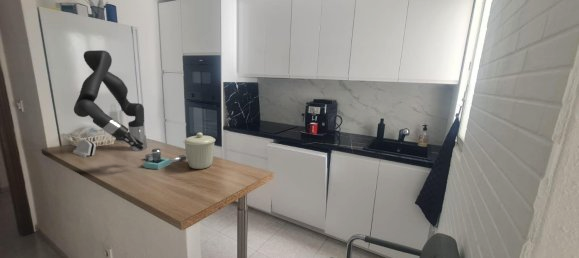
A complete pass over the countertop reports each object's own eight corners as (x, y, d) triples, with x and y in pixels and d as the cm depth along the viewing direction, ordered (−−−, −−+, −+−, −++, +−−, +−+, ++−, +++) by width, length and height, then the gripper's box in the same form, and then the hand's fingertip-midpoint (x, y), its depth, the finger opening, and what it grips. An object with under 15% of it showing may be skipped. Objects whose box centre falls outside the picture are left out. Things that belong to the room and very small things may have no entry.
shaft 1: (158, 162, 147) (157, 158, 147) (151, 164, 145) (150, 159, 144) (151, 157, 156) (151, 153, 155) (144, 159, 153) (144, 154, 152)
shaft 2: (167, 164, 145) (166, 160, 144) (164, 162, 148) (164, 158, 147) (187, 160, 154) (186, 155, 153) (184, 158, 156) (184, 154, 156)
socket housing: (156, 161, 149) (156, 157, 148) (170, 163, 147) (170, 159, 146) (143, 167, 139) (143, 162, 139) (158, 169, 137) (157, 164, 136)
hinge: (72, 152, 158) (76, 138, 159) (81, 153, 163) (85, 139, 164) (84, 157, 151) (89, 142, 152) (93, 158, 155) (97, 143, 156)
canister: (206, 173, 135) (205, 137, 130) (178, 169, 138) (175, 134, 134) (221, 162, 152) (220, 130, 148) (195, 159, 156) (194, 128, 151)
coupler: (157, 163, 146) (155, 148, 143) (163, 164, 144) (162, 149, 142) (150, 166, 141) (149, 150, 139) (157, 167, 140) (156, 151, 138)
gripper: (120, 126, 123) (147, 145, 132) (121, 121, 135) (146, 139, 143) (108, 137, 122) (137, 155, 130) (111, 131, 133) (137, 148, 142)
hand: (142, 146), depth 137 cm, fingers open, 8 cm apart
